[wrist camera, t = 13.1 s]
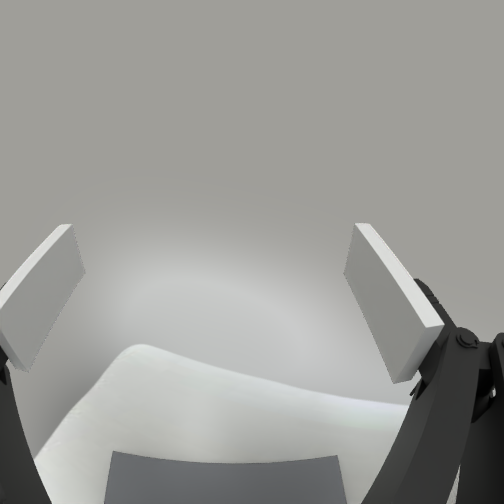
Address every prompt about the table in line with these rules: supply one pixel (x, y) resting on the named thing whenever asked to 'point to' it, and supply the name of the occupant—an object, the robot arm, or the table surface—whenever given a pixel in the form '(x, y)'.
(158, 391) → the table surface
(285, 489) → the rubber mat
